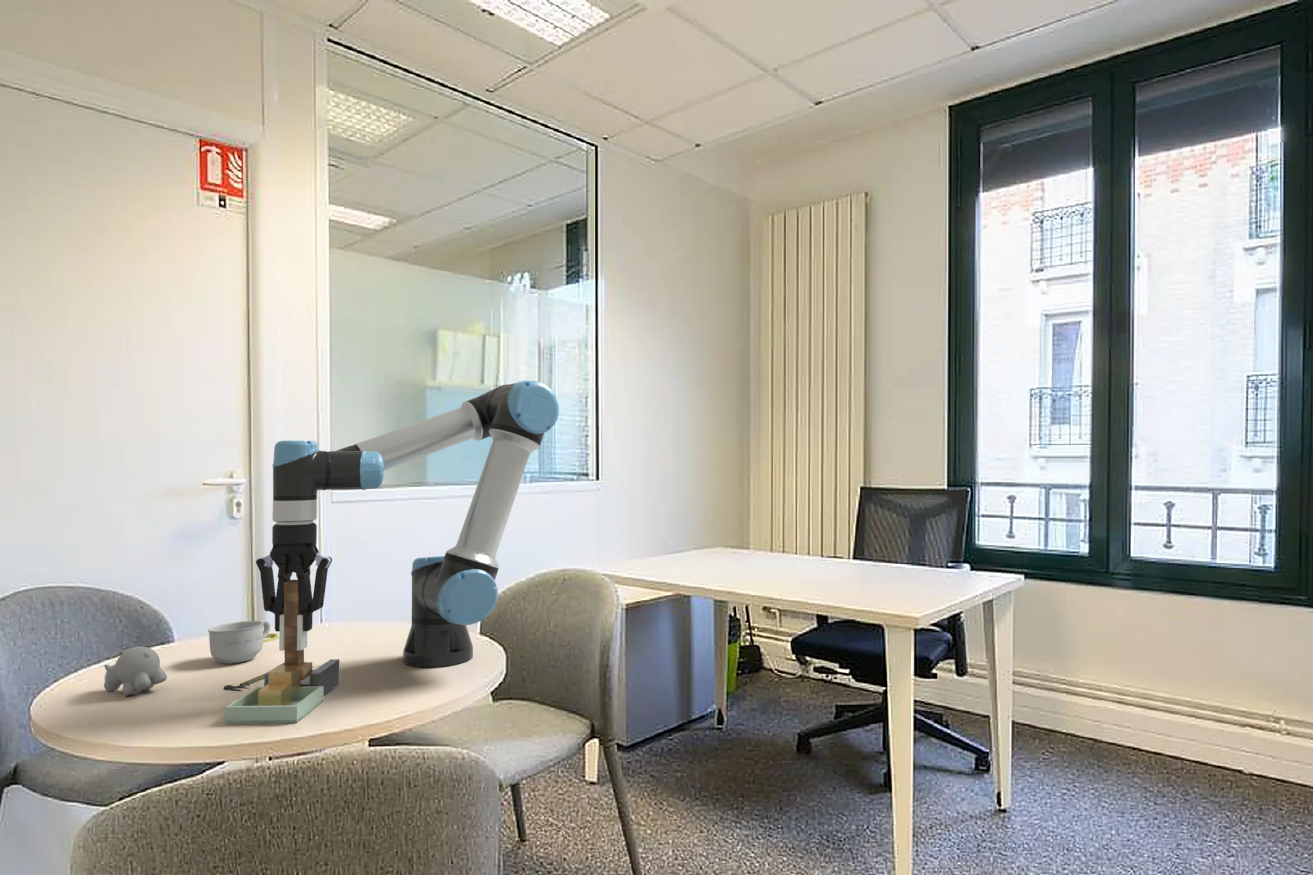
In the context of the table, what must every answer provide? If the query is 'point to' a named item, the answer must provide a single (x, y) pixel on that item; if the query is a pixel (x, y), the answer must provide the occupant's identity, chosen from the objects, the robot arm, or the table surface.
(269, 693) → the front bronze block
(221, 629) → the teacup
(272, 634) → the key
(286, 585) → the walnut t-shaped block
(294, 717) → the sage tray
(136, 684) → the toy rhinoceros
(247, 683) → the tactical tomahawk
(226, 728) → the table surface
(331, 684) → the graphite slot block
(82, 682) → the table surface
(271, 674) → the rear bronze block
